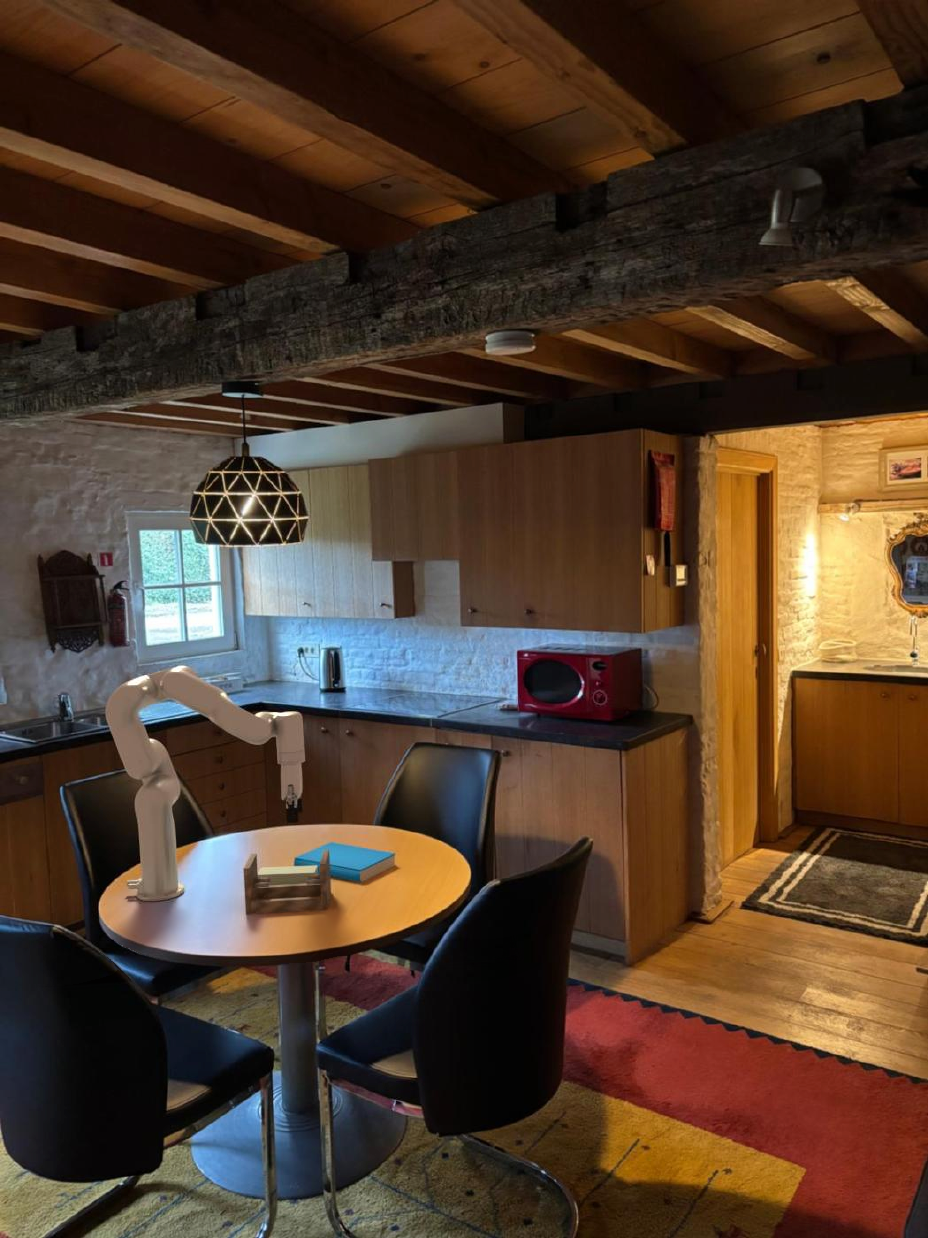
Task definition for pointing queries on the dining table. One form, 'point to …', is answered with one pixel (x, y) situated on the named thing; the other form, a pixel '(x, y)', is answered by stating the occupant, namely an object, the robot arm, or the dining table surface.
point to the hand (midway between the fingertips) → (294, 817)
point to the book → (349, 861)
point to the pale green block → (288, 874)
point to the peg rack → (286, 890)
